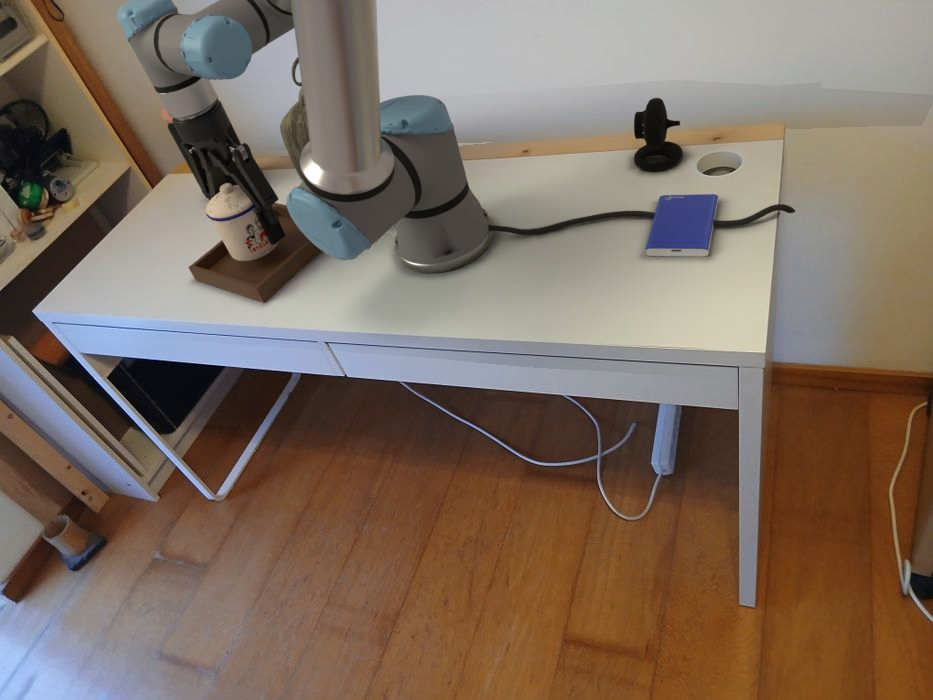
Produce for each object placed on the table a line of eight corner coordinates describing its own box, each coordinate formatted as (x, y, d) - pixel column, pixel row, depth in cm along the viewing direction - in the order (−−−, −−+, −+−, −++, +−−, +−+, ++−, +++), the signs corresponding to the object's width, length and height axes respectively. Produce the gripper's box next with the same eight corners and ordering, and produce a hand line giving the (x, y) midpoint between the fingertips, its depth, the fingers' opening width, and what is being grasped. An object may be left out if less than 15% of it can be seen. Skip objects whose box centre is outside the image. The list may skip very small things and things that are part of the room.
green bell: (355, 213, 131) (299, 76, 115) (311, 214, 135) (251, 81, 118) (386, 167, 141) (339, 34, 124) (344, 169, 144) (293, 40, 127)
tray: (344, 230, 128) (338, 216, 126) (264, 303, 118) (256, 289, 116) (275, 214, 138) (269, 201, 136) (195, 280, 128) (187, 267, 126)
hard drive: (659, 194, 111) (645, 247, 103) (717, 193, 108) (708, 247, 100) (659, 203, 112) (646, 256, 104) (718, 202, 109) (708, 256, 101)
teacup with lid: (260, 266, 121) (228, 204, 113) (219, 260, 125) (185, 200, 117) (302, 221, 128) (275, 161, 120) (262, 217, 132) (233, 158, 124)
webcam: (638, 147, 125) (633, 90, 118) (685, 145, 122) (682, 86, 115) (630, 173, 120) (623, 115, 113) (678, 172, 117) (675, 112, 110)
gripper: (261, 101, 106) (319, 232, 121) (170, 90, 118) (234, 211, 133) (222, 128, 102) (287, 260, 117) (133, 115, 114) (202, 236, 129)
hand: (259, 234), depth 125 cm, fingers closed on teacup with lid, 9 cm apart
